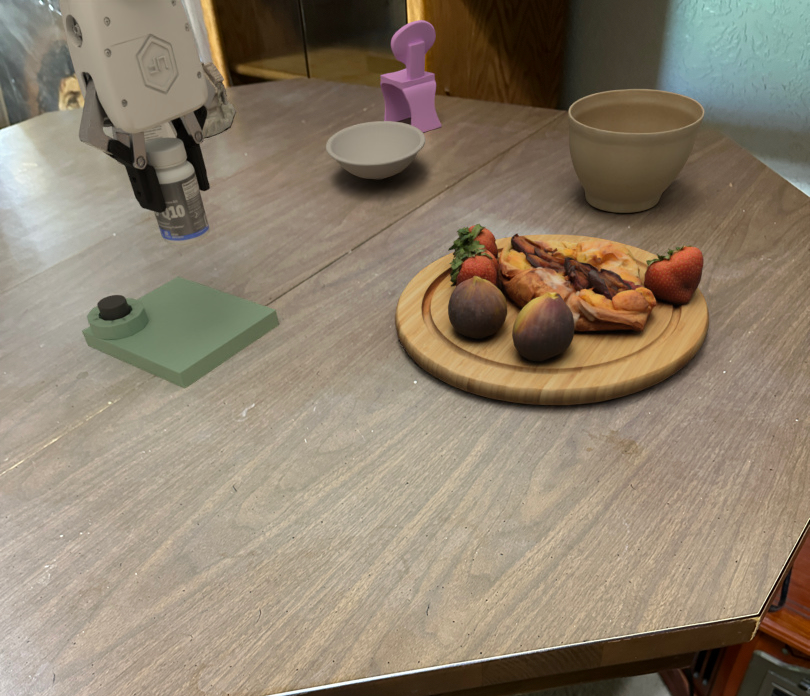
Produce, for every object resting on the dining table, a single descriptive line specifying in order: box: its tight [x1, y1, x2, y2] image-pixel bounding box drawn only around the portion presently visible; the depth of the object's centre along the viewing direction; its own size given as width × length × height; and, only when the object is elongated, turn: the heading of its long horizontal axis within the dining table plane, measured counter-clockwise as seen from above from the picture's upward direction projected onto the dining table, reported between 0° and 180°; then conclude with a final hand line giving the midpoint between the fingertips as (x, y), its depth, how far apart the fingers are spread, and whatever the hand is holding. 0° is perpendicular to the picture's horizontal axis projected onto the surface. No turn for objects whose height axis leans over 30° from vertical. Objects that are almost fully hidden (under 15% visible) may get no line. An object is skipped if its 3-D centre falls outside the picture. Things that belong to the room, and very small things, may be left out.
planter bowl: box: [567, 88, 706, 214], centre depth 92 cm, size 16×16×11 cm
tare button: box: [96, 294, 131, 321], centre depth 77 cm, size 3×3×2 cm
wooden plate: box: [394, 223, 710, 406], centre depth 73 cm, size 32×32×8 cm
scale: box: [81, 276, 280, 389], centre depth 78 cm, size 16×14×4 cm
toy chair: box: [379, 19, 442, 133], centre depth 117 cm, size 8×9×15 cm
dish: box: [325, 120, 426, 180], centre depth 105 cm, size 18×14×5 cm
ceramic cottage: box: [201, 61, 237, 139], centre depth 127 cm, size 16×16×15 cm
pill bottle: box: [145, 137, 211, 246], centre depth 68 cm, size 5×5×8 cm
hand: (175, 196), depth 69 cm, fingers closed on pill bottle, 4 cm apart
